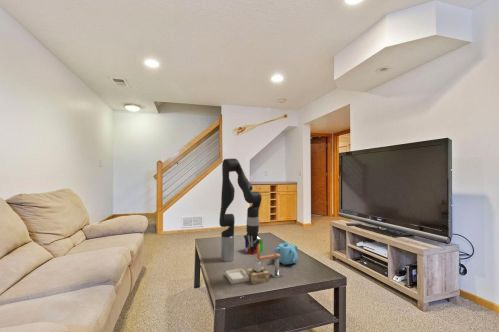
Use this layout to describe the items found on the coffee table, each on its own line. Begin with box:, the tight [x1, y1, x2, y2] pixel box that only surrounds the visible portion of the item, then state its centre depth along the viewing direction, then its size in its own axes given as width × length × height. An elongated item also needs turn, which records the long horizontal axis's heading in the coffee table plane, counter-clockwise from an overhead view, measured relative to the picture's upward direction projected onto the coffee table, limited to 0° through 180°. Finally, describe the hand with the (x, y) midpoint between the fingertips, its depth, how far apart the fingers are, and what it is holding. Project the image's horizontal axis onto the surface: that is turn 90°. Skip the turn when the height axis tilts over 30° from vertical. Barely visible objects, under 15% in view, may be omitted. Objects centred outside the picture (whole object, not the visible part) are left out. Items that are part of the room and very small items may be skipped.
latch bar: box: [256, 244, 280, 261], centre depth 141 cm, size 4×16×9 cm, turn 116°
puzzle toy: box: [244, 237, 264, 255], centre depth 187 cm, size 10×10×10 cm
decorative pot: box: [273, 242, 299, 266], centre depth 165 cm, size 16×16×14 cm
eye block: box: [246, 265, 270, 285], centre depth 138 cm, size 10×10×5 cm
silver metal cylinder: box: [253, 258, 262, 273], centre depth 138 cm, size 4×4×11 cm
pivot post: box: [269, 257, 284, 279], centre depth 143 cm, size 6×6×11 cm
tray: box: [225, 268, 251, 285], centre depth 139 cm, size 13×11×2 cm
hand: (252, 252), depth 141 cm, fingers closed
